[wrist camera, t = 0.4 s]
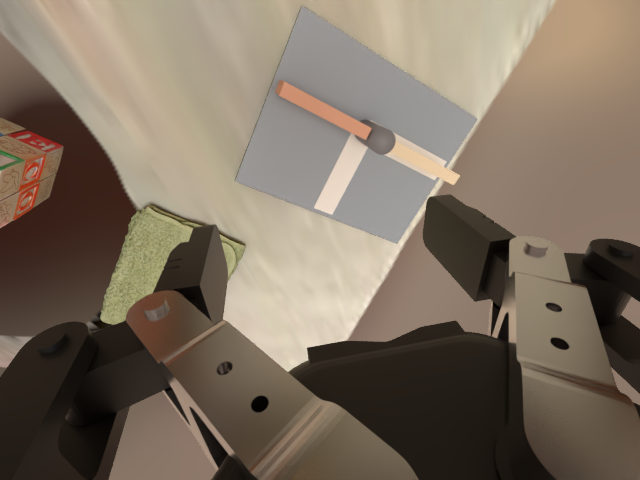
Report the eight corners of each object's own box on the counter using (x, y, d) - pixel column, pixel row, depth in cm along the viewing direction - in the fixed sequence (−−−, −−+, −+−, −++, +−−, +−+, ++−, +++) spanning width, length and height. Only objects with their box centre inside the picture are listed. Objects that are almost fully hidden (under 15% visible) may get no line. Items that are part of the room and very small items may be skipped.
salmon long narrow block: (356, 120, 34) (371, 128, 30) (351, 130, 34) (365, 140, 30) (279, 79, 31) (284, 81, 26) (275, 91, 31) (279, 95, 27)
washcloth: (250, 238, 40) (250, 251, 37) (197, 335, 46) (193, 352, 43) (141, 194, 35) (131, 205, 32) (97, 308, 41) (85, 326, 38)
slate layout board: (301, 6, 29) (313, -8, 23) (475, 118, 37) (514, 127, 32) (235, 179, 36) (232, 201, 30) (395, 242, 44) (416, 267, 38)
